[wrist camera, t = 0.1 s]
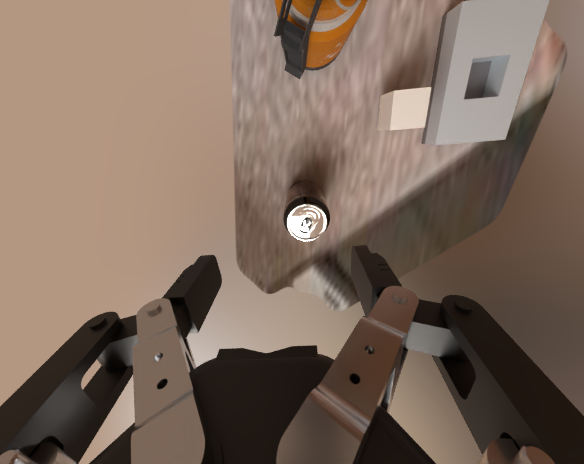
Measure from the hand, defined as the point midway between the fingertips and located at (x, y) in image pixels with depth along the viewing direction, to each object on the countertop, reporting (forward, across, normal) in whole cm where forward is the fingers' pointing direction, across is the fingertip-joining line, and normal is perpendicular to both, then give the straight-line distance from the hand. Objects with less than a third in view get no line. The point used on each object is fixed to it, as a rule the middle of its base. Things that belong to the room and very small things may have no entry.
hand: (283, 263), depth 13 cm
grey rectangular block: (+29, -27, -10) cm, 41 cm away
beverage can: (+29, -2, +5) cm, 30 cm away
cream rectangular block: (+29, -16, -8) cm, 34 cm away
